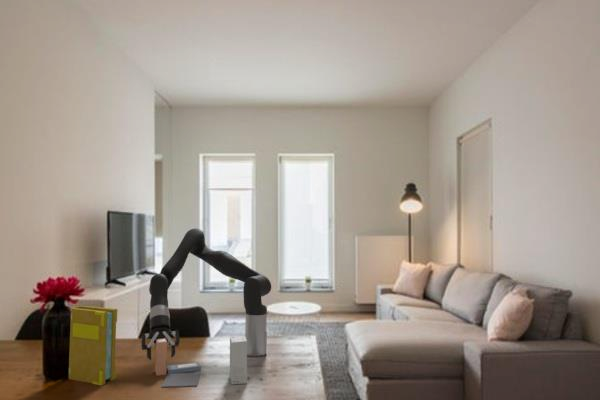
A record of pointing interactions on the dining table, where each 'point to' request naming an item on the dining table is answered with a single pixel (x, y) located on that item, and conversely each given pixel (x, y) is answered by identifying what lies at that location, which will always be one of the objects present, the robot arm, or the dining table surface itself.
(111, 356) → the book
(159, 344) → the tan rectangular block
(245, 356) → the skincare box
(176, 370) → the blue panel box
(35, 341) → the dining table surface
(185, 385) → the mat
